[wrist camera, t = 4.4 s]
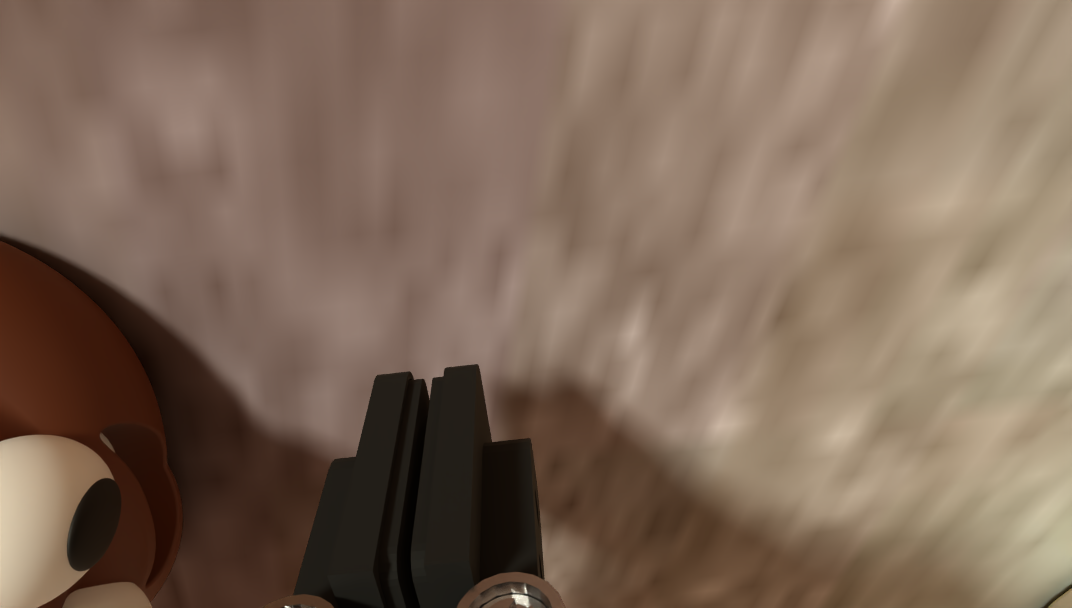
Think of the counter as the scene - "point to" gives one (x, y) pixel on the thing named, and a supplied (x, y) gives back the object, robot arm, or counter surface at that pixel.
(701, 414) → the counter surface
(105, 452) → the poop emoji
